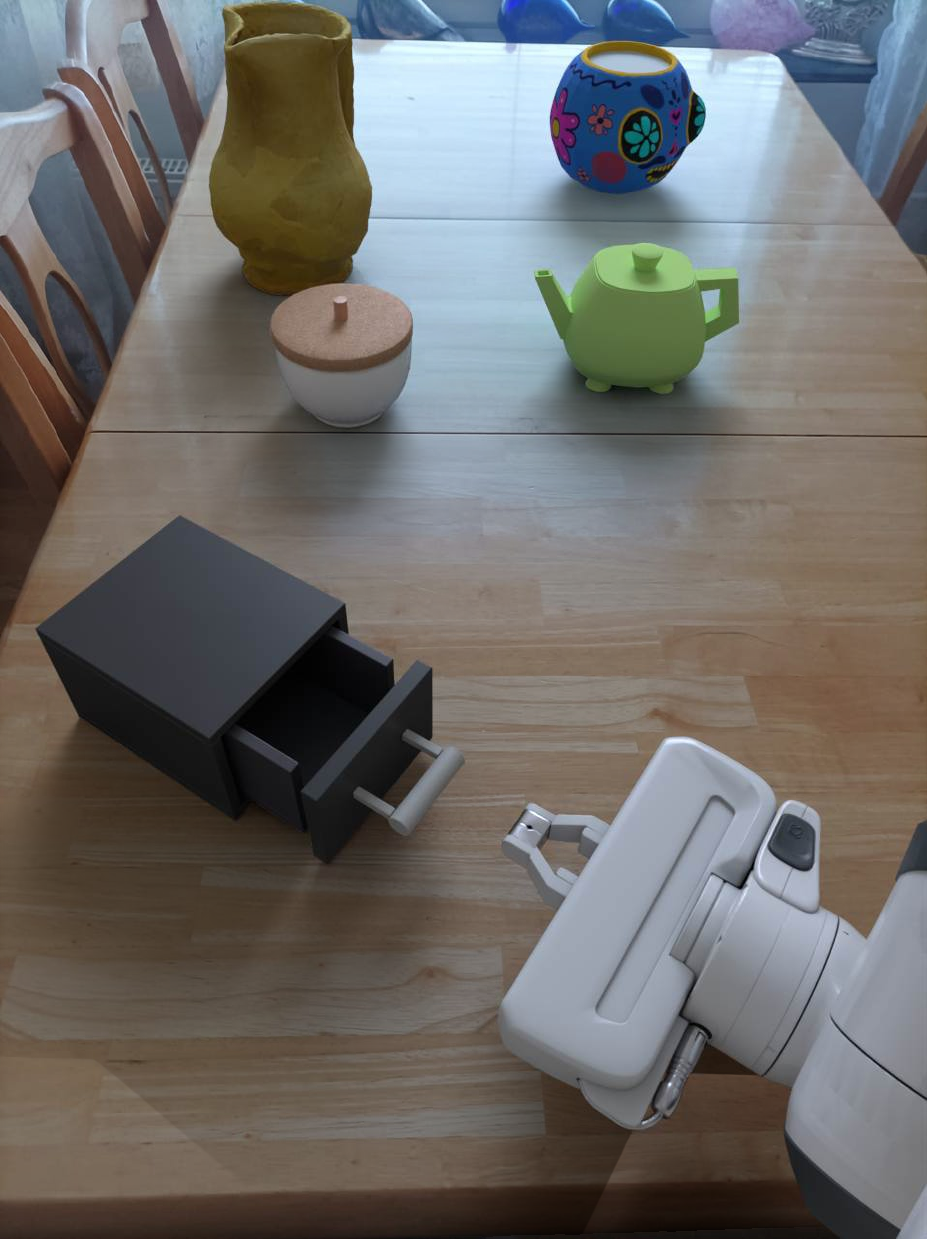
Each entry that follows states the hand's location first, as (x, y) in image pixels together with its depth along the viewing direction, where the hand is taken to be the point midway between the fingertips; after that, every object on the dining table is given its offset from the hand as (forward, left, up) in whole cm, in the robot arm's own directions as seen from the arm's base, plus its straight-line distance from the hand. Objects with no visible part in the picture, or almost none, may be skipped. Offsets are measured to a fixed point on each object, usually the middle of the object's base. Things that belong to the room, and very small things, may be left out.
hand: (514, 826), depth 53 cm
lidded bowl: (+33, +38, -7) cm, 51 cm away
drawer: (0, +14, -6) cm, 15 cm away
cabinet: (0, +24, -7) cm, 25 cm away
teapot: (+54, +19, -7) cm, 58 cm away
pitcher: (+51, +58, -7) cm, 78 cm away
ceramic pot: (+90, +39, -7) cm, 98 cm away
